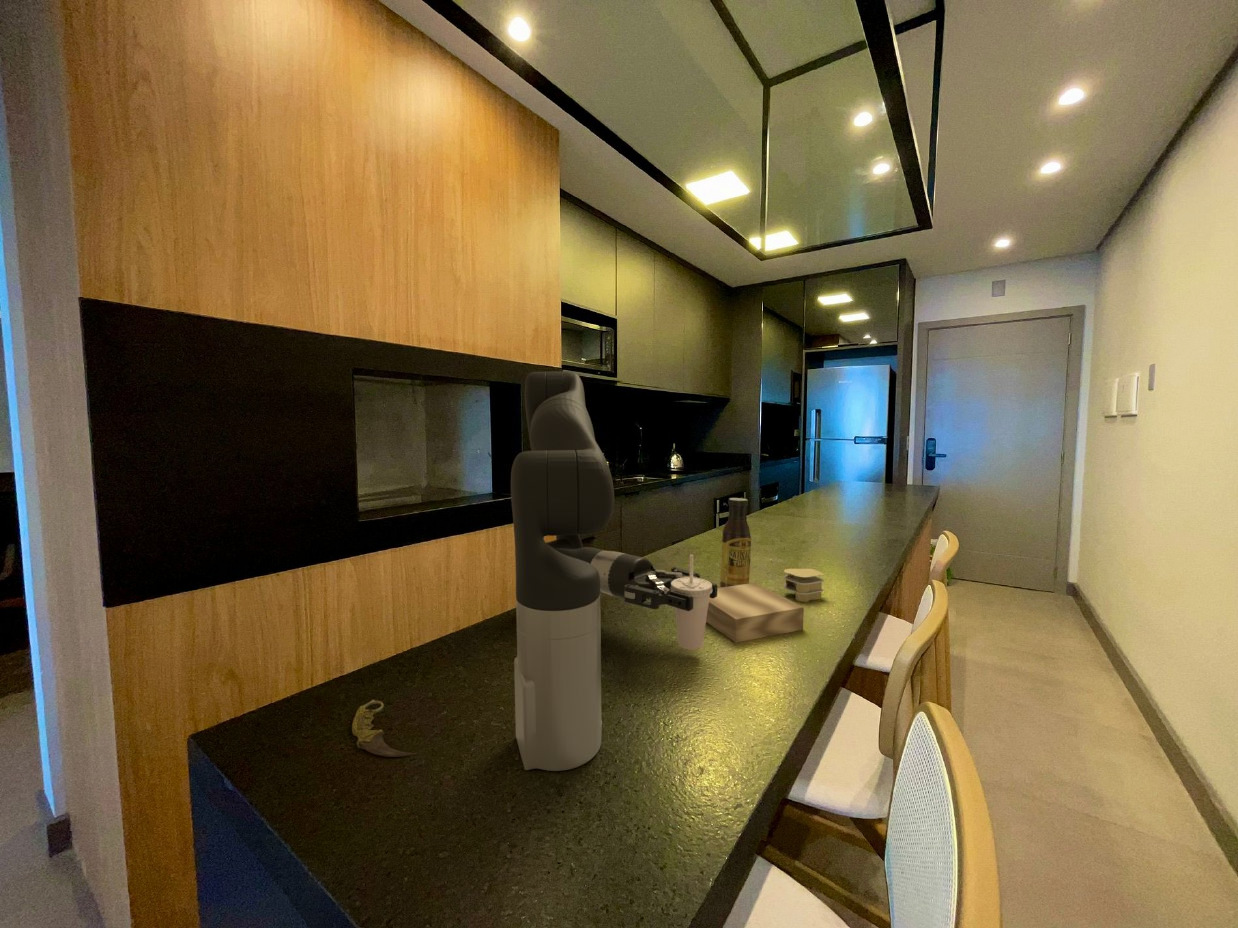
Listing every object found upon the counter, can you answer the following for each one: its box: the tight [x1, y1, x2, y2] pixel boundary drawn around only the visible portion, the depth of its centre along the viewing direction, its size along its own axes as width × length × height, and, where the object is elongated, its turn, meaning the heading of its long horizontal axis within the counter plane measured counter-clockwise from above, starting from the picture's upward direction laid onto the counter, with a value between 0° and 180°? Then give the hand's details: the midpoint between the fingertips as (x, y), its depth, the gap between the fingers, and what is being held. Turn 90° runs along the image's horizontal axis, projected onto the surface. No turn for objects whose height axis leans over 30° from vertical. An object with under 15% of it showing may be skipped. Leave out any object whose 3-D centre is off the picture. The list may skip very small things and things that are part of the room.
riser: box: [706, 582, 805, 644], centre depth 88 cm, size 14×14×4 cm
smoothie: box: [670, 554, 712, 651], centre depth 74 cm, size 6×6×14 cm
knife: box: [351, 699, 420, 758], centre depth 57 cm, size 14×1×5 cm
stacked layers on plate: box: [783, 568, 825, 603], centre depth 100 cm, size 10×9×6 cm
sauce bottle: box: [719, 497, 752, 588], centre depth 104 cm, size 6×6×20 cm
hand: (704, 597), depth 73 cm, fingers closed on smoothie, 6 cm apart
